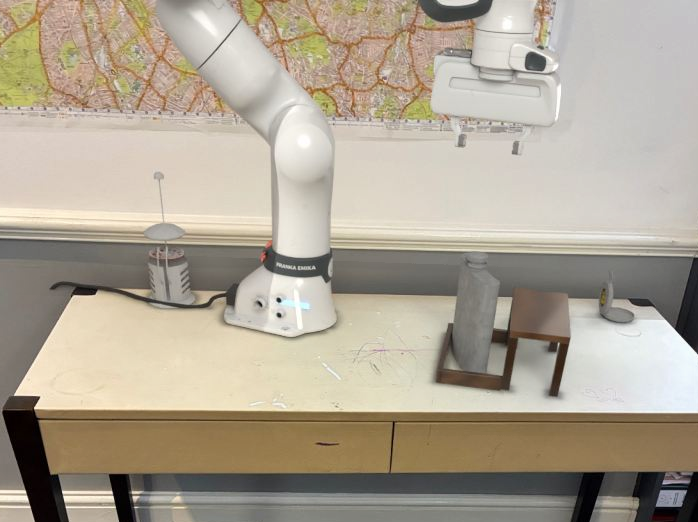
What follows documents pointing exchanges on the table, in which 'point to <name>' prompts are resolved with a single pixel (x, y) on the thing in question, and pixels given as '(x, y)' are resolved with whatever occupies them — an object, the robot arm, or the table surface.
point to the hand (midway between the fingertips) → (488, 150)
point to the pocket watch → (606, 302)
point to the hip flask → (474, 313)
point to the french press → (167, 264)
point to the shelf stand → (524, 322)
